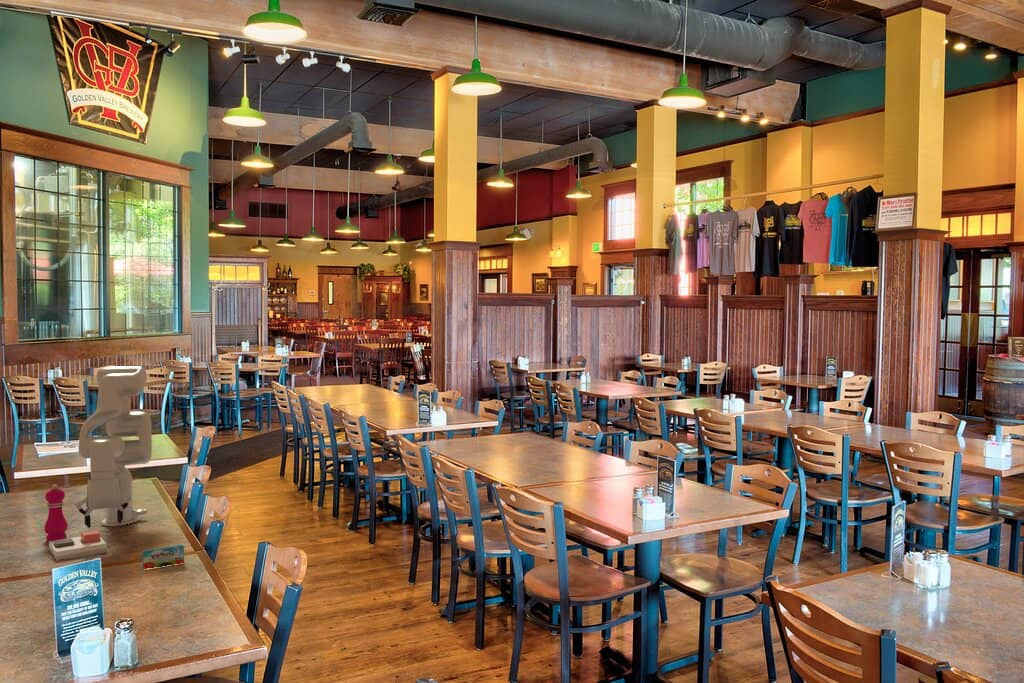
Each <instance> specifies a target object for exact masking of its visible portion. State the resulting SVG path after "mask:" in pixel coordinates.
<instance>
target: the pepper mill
mask: <svg viewBox="0 0 1024 683" xmlns="http://www.w3.org/2000/svg"><path fill="white" fill-rule="evenodd" d="M51 488H52V489H49V490H47V492H46V494H45V497H44V498H45V501H47V508H48V516H47V519H46V521H45V523H44V524H45V525H44V533H46V534H47V535H46V537H45V538H46V542H47V541H48V542H47V543H49V541H55V540H62V539H67V533H66V531H68V529H69V528H68V527H69V525H68V522H67V520H66V518H65V516H64V513H63V506H64V501H63V500H64V499H65V496H66V494H65V491H64V490H63V489H61V488H58V484H56V483H55V484H52V486H51Z"/></svg>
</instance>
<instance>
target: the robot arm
mask: <svg viewBox="0 0 1024 683" xmlns="http://www.w3.org/2000/svg"><path fill="white" fill-rule="evenodd" d="M147 380H148V374H147V371H146V369H145V367H143V366H140V365H139V366H137V365H136V366H135V365H134V366H133V365H132V366H107V367H101V368H100V369H98V370H97V372H96V381H97V384H98V391H97V402H96V403H97V404H96V409H95V411H94V412H93V413H92V414H91V415H90V416H89V417H87V419H86V420H85V421H84V423H83V424H82V426H81V428H80V432H79V438H78V440H79V441H78V454H79V456H80V457H82V458H83V459H89V461H90V465H89V466H90V479H88V480H87V485H86V494H85V495H86V496H85V498H83V499H81V500H79V501H78V502H76V503H75V505H74V506H75V508H76V509H77V511H78V512H79V513H80V514H82V515H83V516H84V526H86V527H87V528H89V529H90V528H91V524H92V522H91V515H90V514H92V512H93V511H97V510H104V509H105V518H104V519H102V520H101V522H100V524H101V526H104V527H122V525H123V526H127V525H126V524H128V525H131V524H130V523H132V524H134V523H133V522H135V523H137V522H138V516H143V515H147V509H142V508H141V509H140V508H139V509H135V508H134V502H133V501H134V496H133V495H134V494H133V476H132V473H131V472H130V470H129V469H128V468H127V467H126V466H134V465H135V466H136V465H145V464H148V463H150V461H151V459H152V453H153V452H152V447H153V446H152V445H153V444H152V436H153V435H152V434H153V433H152V428H153V427H152V418H151V416H150V414H149V413H148V412H146V411H131V399H130V397H129V396H131V397H132V396H140V395H141V394H142V392H143V390H144V388H145V386H146V384H147ZM103 425H105V430H106V431H105V432H106V434H107V435H106V436H105V435H102V436H90V435H91V433H92V432H93V431H94V430H95V429H97V428H98V427H100V426H103ZM128 437H129V438H132V437H136V438H138V439H127V440H126V439H123V438H128ZM83 505H86V509H85V510H84V509H83V508H82V506H83Z"/></svg>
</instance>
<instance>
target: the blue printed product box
mask: <svg viewBox="0 0 1024 683" xmlns="http://www.w3.org/2000/svg"><path fill="white" fill-rule="evenodd" d="M184 550H185V548H184V545H183V544H178V545H177V544H176V545H171V546H170V545H169V546H163V547H157V548H150V549H143V550H142V553H141V554H142V570H143V569H147V568H154V567H162V566H167V565H174V564H180V563H184V564H185V553H184V552H185V551H184Z"/></svg>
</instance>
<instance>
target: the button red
mask: <svg viewBox="0 0 1024 683" xmlns="http://www.w3.org/2000/svg"><path fill="white" fill-rule="evenodd" d="M80 536H81V540H82V541H83V543H87V542H93V541H99V540H100V537H101V533H100V531H98V530H97V529H93V530H89V531H88V530H87V531H82V532H80Z"/></svg>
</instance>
